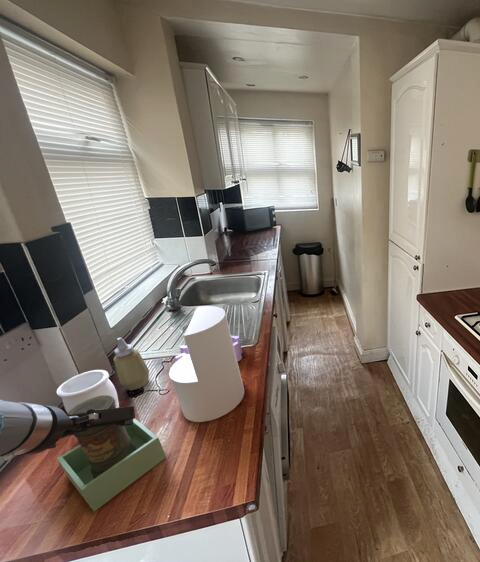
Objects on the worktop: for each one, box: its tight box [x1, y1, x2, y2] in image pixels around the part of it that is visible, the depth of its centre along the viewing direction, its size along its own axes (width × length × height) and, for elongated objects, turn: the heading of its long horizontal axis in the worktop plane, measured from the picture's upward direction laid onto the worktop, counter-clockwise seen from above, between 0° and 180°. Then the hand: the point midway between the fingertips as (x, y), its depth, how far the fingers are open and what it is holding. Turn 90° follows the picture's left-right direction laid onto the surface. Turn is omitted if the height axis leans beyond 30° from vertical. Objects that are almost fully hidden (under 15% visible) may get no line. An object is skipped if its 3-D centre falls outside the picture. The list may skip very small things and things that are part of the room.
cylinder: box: [168, 305, 245, 423], centre depth 89 cm, size 17×17×28 cm
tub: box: [56, 417, 167, 512], centre depth 73 cm, size 15×15×7 cm
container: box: [66, 395, 137, 479], centre depth 70 cm, size 9×9×18 cm
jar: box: [56, 369, 120, 414], centre depth 84 cm, size 11×10×15 cm
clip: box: [174, 335, 244, 363], centre depth 111 cm, size 20×12×7 cm, turn 110°
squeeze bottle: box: [113, 337, 150, 391], centre depth 99 cm, size 8×8×18 cm
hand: (93, 429), depth 68 cm, fingers open, 13 cm apart
